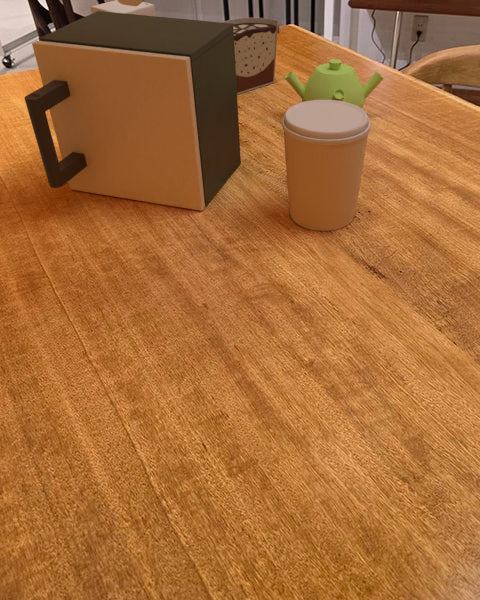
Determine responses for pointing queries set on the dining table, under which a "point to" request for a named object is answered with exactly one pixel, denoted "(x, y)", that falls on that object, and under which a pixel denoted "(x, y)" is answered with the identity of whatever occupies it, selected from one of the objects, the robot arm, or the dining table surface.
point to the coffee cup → (324, 161)
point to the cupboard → (204, 67)
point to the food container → (254, 52)
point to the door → (118, 123)
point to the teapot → (334, 84)
